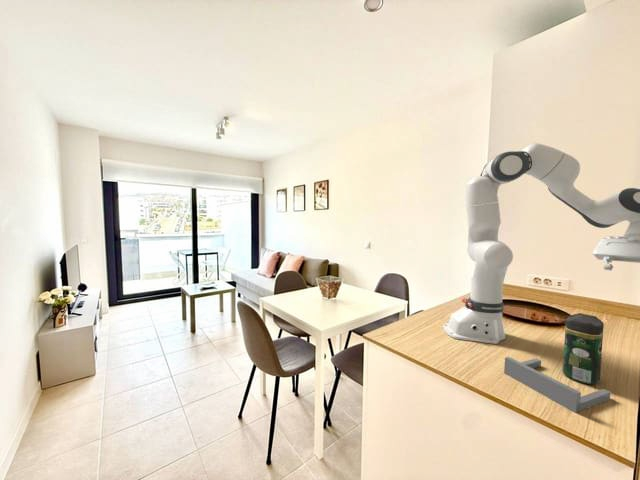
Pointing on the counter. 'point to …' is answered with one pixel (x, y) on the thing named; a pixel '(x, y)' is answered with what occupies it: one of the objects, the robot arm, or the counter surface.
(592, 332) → the coffee jar
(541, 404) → the counter surface
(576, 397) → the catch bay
